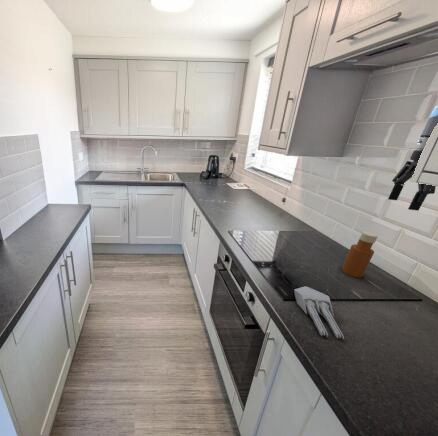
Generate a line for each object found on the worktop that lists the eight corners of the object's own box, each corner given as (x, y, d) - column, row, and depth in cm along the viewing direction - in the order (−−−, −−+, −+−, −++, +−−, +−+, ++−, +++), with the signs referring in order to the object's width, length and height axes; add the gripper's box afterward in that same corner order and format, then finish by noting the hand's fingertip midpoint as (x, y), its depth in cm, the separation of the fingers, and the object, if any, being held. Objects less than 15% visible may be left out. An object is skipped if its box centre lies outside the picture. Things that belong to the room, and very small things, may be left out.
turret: (311, 339, 71) (317, 330, 68) (288, 289, 87) (292, 280, 85) (347, 345, 69) (354, 336, 67) (317, 293, 86) (322, 284, 84)
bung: (368, 245, 98) (374, 232, 95) (374, 250, 93) (380, 237, 91) (354, 242, 99) (360, 230, 97) (359, 248, 95) (365, 235, 93)
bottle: (358, 269, 103) (372, 238, 97) (365, 279, 97) (382, 246, 91) (338, 266, 106) (352, 235, 99) (345, 274, 99) (360, 242, 93)
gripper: (395, 146, 97) (374, 195, 105) (441, 153, 75) (410, 213, 84) (419, 148, 95) (395, 197, 103) (472, 155, 73) (437, 216, 81)
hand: (402, 204), depth 93 cm, fingers open, 13 cm apart
